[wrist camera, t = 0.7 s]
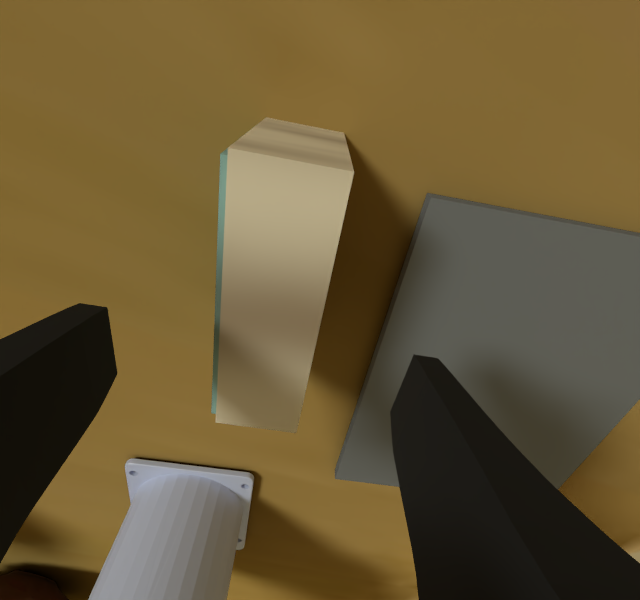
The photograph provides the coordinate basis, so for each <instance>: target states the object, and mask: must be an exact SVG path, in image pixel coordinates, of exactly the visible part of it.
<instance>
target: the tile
mask: <svg viewBox="0 0 640 600" xmlns="http://www.w3.org/2000/svg"><path fill="white" fill-rule="evenodd" d="M353 175H354V169H353V165H352V161H351V158H350V154H349V150H348V146H347V142H346V138H345V135H344V133H342V132H337V131H332V130H327V129H322V128H317V127H312V126H307V125H302V124H296V123H291V122H286V121H281V120H276V119H271V118H265V119H264V120H262V121H261V122H260V123H259V124H257V125H256V126H255V127H254V128H252V129H251V130H250V131H248V132H247V133H246V134H245V135H243V136H242V137H241V138H240V139H238V140H237V141H236V142H235V143H233V144H232V145H231V146H229V147H228V148H227V149H226V150H225V151H223V152H222V153H221V154H220V182H219V211H218V240H217V268H216V297H215V326H214V355H213V384H212V412H211V413H214V414H216V423H224V424H231V425H239V426H247V427H254V428H262V429H269V430H277V431H285V432H292V433H296V432H297V427H298V423H299V418H300V414H301V409H302V405H303V400H304V396H305V391H306V387H307V382H308V378H309V373H310V369H311V364H312V360H313V355H314V351H315V346H316V342H317V337H318V333H319V328H320V324H321V319H322V315H323V310H324V306H325V301H326V297H327V292H328V288H329V283H330V279H331V274H332V270H333V265H334V261H335V256H336V252H337V247H338V243H339V238H340V234H341V229H342V225H343V220H344V216H345V211H346V207H347V202H348V198H349V193H350V189H351V184H352V180H353Z"/></svg>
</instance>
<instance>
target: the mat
mask: <svg viewBox="0 0 640 600" xmlns="http://www.w3.org/2000/svg"><path fill="white" fill-rule="evenodd" d="M413 355H421V356H427V357H434V358H438V359H439V360H440V361H441V362H442V363H443V364H444V365H445V366H446V368H447V369H448V370H449V371H450V372H451V373H452V374H453V376H454V377H455V378H456V379H457V380H458V381H459V383H460V384H461V385H462V386H463V387H464V389H465V390H466V391H467V392H468V393H469V394H470V396H471V397H472V398H473V399H474V400H475V401H476V403H477V404H478V405H479V406H480V407H481V408H482V410H483V411H484V412H485V413H486V414H487V415H488V417H489V418H490V419H491V420H492V421H493V422H494V423H495V424H496V426H497V427H498V428H499V429H500V430H501V431H502V432H503V433H504V435H505V436H506V437H507V438H508V439H509V440H510V441H511V442H512V443H513V444H514V445H515V446H516V448H517V449H518V450H519V451H520V452H521V453H522V454H523V455H524V456H525V457H526V458H527V459H528V460H529V461H530V462H531V463H532V464H533V465H534V466H535V467H536V468H537V469H538V471H539V472H540V473H541V474H542V475H543V476H544V477H545V478H546V479H547V480H548V481H549V482H550V483H551V484H552V485H553V486H554V487H555V488H556V489H557V490H558V489H559V488H560V487H561V485H562V484H563V483H564V482H565V481H566V480H567V479H568V478H569V477H570V475H571V474H572V473H573V472H574V471H575V470H576V469H577V468H578V467H579V466H580V464H581V463H582V462H583V461H584V460H585V459H586V458H587V457H588V456H589V454H590V453H591V452H592V451H593V450H594V449H595V448H596V447H597V446H598V445H599V443H600V442H601V441H602V440H603V439H604V438H605V437H606V436H607V435H608V433H609V432H610V431H611V430H612V429H613V428H614V427H615V426H616V425H617V424H618V422H619V421H620V420H621V419H622V418H623V417H624V416H625V415H626V414H627V412H628V411H629V410H630V409H631V408H632V407H633V406H634V405H635V404H636V403H637V401H638V400H639V399H640V233H636V232H631V231H626V230H621V229H615V228H610V227H605V226H599V225H594V224H589V223H584V222H578V221H573V220H568V219H562V218H557V217H552V216H547V215H541V214H536V213H531V212H525V211H520V210H515V209H510V208H504V207H499V206H494V205H488V204H483V203H478V202H473V201H467V200H462V199H457V198H451V197H446V196H441V195H436V194H430V193H427V195H426V198H425V201H424V204H423V207H422V210H421V213H420V216H419V219H418V222H417V225H416V228H415V231H414V234H413V237H412V240H411V243H410V246H409V249H408V252H407V255H406V258H405V261H404V264H403V267H402V270H401V273H400V276H399V279H398V282H397V285H396V288H395V291H394V294H393V297H392V300H391V303H390V306H389V309H388V312H387V315H386V318H385V321H384V324H383V327H382V330H381V333H380V336H379V339H378V342H377V345H376V348H375V351H374V354H373V357H372V360H371V363H370V366H369V369H368V372H367V375H366V378H365V381H364V384H363V387H362V390H361V393H360V396H359V399H358V402H357V405H356V408H355V411H354V414H353V417H352V420H351V423H350V426H349V429H348V432H347V435H346V438H345V441H344V444H343V447H342V450H341V453H340V456H339V459H338V462H337V465H336V468H335V479H341V480H349V481H357V482H365V483H373V484H381V485H389V486H398V487H400V486H399V481H398V476H397V471H396V465H395V460H394V455H393V446H392V434H391V417H390V411H391V408H392V406H393V404H394V401H395V399H396V396H397V394H398V391H399V389H400V387H401V384H402V382H403V379H404V377H405V374H406V372H407V369H408V367H409V365H410V362H411V360H412V357H413Z"/></svg>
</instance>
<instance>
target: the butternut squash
mask: <svg viewBox="0 0 640 600" xmlns="http://www.w3.org/2000/svg"><path fill="white" fill-rule="evenodd" d="M0 600H69V599H68V598H67V597H66V596H65V595H64V594H62V592H61V591H60V590H59V589H58V587H57V585H56V582H54V581H52V580H50V579H48V578H45V577H42V576H39V575H36V574H32V573H28V572H23V571H18V570H15V571H13V572H11V573H9V574H5V575H0Z"/></svg>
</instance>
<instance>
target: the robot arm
mask: <svg viewBox="0 0 640 600" xmlns="http://www.w3.org/2000/svg"><path fill="white" fill-rule="evenodd" d="M116 375H117V368H116V362H115V355H114V348H113V342H112V335H111V329H110V322H109V316H108V309H107V307H101V306H94V305H88V304H81V303H79V304H77V305H74V306H72V307H69V308H67V309H64V310H62V311H60V312H58V313H56V314H53V315H51V316H49V317H47V318H45V319H43V320H41V321H38V322H36V323H34V324H32V325H30V326H28V327H26V328H24V329H22V330H19V331H17V332H15V333H13V334H11V335H9V336H7V337H5V338H2V339H0V563H1V561H2V559H3V557H4V556H5V554H6V552H7V550H8V548H9V547H10V545H11V543H12V541H13V540H14V538H15V536H16V534H17V533H18V531H19V529H20V528H21V526H22V525H23V523H24V521H25V520H26V518H27V517H28V515H29V513H30V512H31V510H32V509H33V507H34V506H35V504H36V503H37V501H38V500H39V498H40V497H41V496H42V494H43V493H44V491H45V490H46V488H47V487H48V485H49V484H50V482H51V481H52V479H53V478H54V477H55V475H56V474H57V472H58V471H59V469H60V468H61V466H62V465H63V463H64V462H65V460H66V459H67V458H68V456H69V455H70V453H71V452H72V450H73V449H74V447H75V446H76V444H77V443H78V441H79V440H80V438H81V437H82V435H83V434H84V433H85V431H86V430H87V428H88V427H89V425H90V424H91V422H92V421H93V419H94V418H95V416H96V414H97V413H98V411H99V409H100V407H101V405H102V403H103V402H104V400H105V398H106V396H107V394H108V392H109V390H110V388H111V386H112V384H113V382H114V379H115V377H116ZM390 417H391V434H392V446H393V455H394V460H395V465H396V471H397V476H398V481H399V486H400V491H401V496H402V501H403V506H404V511H405V516H406V521H407V526H408V531H409V536H410V541H411V546H412V552H413V558H414V564H415V571H416V578H417V587H418V597H419V600H640V563H638V562H637V561H636V560H635V559H634V558H632V557H631V556H630V555H629V554H628V553H627V552H625V551H624V550H623V549H622V548H621V547H620V546H618V545H617V544H616V543H615V542H614V541H613V540H612V539H610V538H609V537H608V536H607V535H606V534H605V533H604V532H602V531H601V530H600V529H599V528H598V527H597V526H596V525H595V524H594V523H593V522H592V521H591V520H589V519H588V518H587V517H586V516H585V515H584V514H583V513H582V512H581V511H580V510H579V509H578V508H577V507H575V506H574V505H573V504H572V503H571V502H570V501H569V500H568V499H567V498H566V497H565V496H564V495H563V494H562V493H561V492H559V491H558V490H557V489H556V488H555V487H554V486H553V485H552V484H551V483H550V482H549V481H548V480H547V479H546V478H545V477H544V476H543V475H542V474H541V473H540V472H539V471H538V469H537V468H536V467H535V466H534V465H533V464H532V463H531V462H530V461H529V460H528V459H527V458H526V457H525V456H524V455H523V454H522V453H521V452H520V451H519V450H518V449H517V448H516V446H515V445H514V444H513V443H512V442H511V441H510V440H509V439H508V438H507V437H506V436H505V435H504V433H503V432H502V431H501V430H500V429H499V428H498V427H497V426H496V424H495V423H494V422H493V421H492V420H491V419H490V418H489V417H488V415H487V414H486V413H485V412H484V411H483V410H482V408H481V407H480V406H479V405H478V404H477V403H476V401H475V400H474V399H473V398H472V397H471V396H470V394H469V393H468V392H467V391H466V390H465V389H464V387H463V386H462V385H461V384H460V383H459V381H458V380H457V379H456V378H455V377H454V376H453V374H452V373H451V372H450V371H449V370H448V369H447V368H446V366H445V365H444V364H443V363H442V362H441V361H440V360H439V359H438V358H434V357H427V356H421V355H413V357H412V360H411V362H410V365H409V367H408V369H407V372H406V374H405V377H404V379H403V382H402V384H401V387H400V389H399V391H398V394H397V396H396V399H395V401H394V404H393V406H392V408H391V411H390ZM125 471H126V477H127V483H128V489H129V496H130V502H131V506H130V508H129V510H128V512H127V514H126V517H125V519H124V521H123V523H122V526H121V528H120V530H119V532H118V534H117V537H116V539H115V541H114V543H113V545H112V548H111V550H110V552H109V554H108V557H107V559H106V561H105V563H104V565H103V568H102V570H101V572H100V574H99V576H98V579H97V581H96V583H95V585H94V588H93V590H92V592H91V594H90V596H89V599H88V600H227V595H228V589H229V584H230V579H231V574H232V568H233V563H234V558H235V553H236V550H241V549H243V548H244V545H245V539H246V532H247V525H248V518H249V511H250V504H251V497H252V490H253V483H254V476H253V474H251V473H249V472H242V471H234V470H225V469H217V468H209V467H201V466H193V465H184V464H176V463H168V462H160V461H152V460H143V459H135V458H132V459H129V460H128V461H127V462H126V464H125Z"/></svg>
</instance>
